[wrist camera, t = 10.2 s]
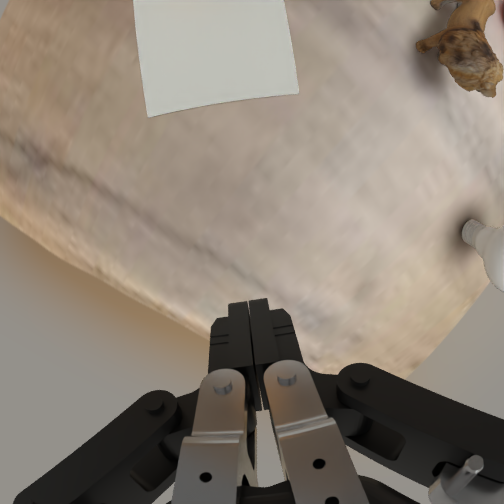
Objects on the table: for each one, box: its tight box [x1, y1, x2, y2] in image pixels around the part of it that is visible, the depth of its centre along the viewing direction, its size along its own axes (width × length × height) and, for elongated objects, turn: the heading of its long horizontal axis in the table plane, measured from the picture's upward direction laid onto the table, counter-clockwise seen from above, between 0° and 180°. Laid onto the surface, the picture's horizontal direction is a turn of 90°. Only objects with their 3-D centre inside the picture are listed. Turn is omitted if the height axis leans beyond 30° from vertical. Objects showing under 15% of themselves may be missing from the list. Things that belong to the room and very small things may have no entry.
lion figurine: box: [416, 0, 503, 98], centre depth 15 cm, size 15×5×9 cm, turn 164°
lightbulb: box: [462, 219, 504, 292], centre depth 23 cm, size 6×6×11 cm
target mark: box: [133, 0, 299, 118], centre depth 20 cm, size 12×12×1 cm
